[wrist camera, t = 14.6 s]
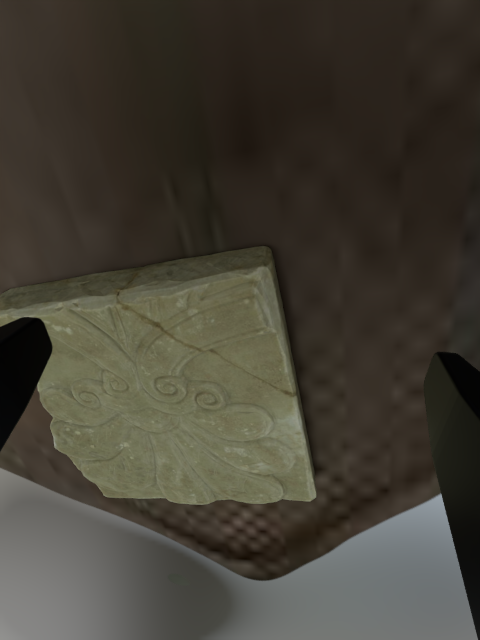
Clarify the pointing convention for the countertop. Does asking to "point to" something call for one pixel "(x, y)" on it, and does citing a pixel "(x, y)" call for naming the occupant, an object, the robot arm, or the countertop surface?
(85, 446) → the decorative tile
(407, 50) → the countertop surface
